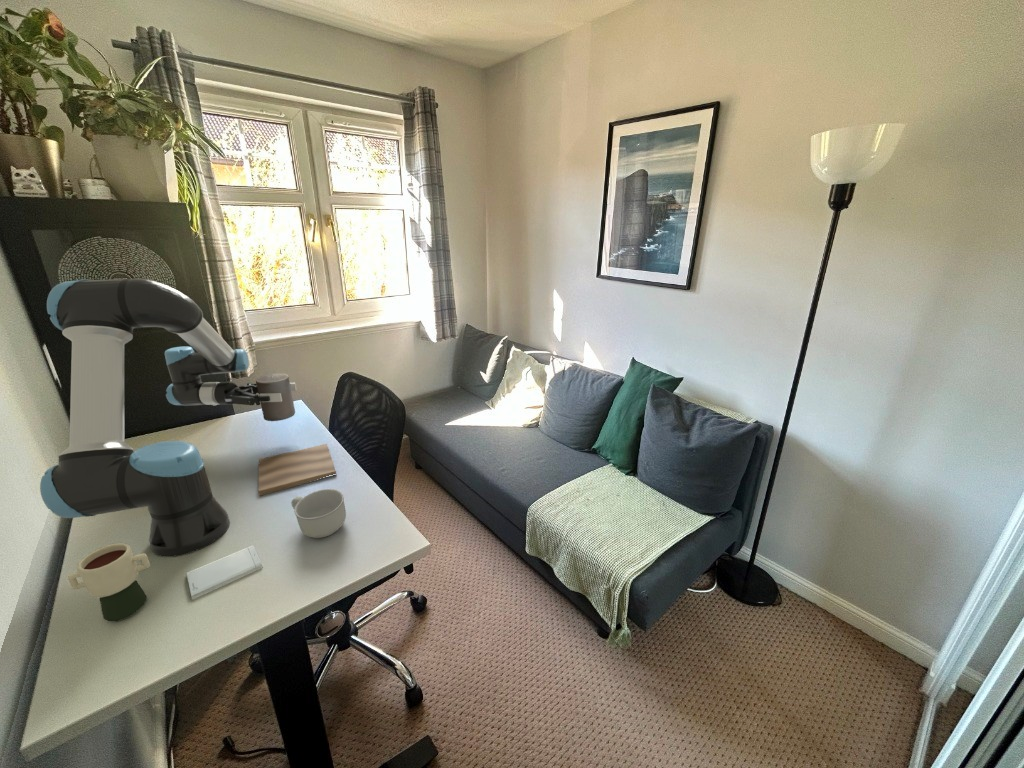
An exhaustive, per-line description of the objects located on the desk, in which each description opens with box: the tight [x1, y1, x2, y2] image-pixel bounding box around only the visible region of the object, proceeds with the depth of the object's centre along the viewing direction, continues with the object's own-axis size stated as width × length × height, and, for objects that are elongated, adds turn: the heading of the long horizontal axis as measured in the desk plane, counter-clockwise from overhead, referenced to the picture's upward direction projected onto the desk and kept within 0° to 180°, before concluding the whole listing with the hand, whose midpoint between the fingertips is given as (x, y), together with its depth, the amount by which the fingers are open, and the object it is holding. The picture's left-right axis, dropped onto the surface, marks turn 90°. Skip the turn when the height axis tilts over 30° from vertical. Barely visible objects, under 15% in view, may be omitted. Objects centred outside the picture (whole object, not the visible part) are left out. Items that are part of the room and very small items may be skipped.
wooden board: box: [258, 443, 337, 496], centre depth 126 cm, size 20×20×2 cm
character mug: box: [67, 542, 151, 623], centre depth 76 cm, size 11×7×13 cm, turn 120°
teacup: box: [290, 488, 347, 539], centre depth 99 cm, size 14×11×8 cm
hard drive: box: [186, 544, 264, 601], centre depth 87 cm, size 2×8×12 cm
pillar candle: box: [255, 373, 296, 422], centre depth 137 cm, size 10×10×15 cm
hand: (288, 391), depth 137 cm, fingers closed on pillar candle, 10 cm apart
